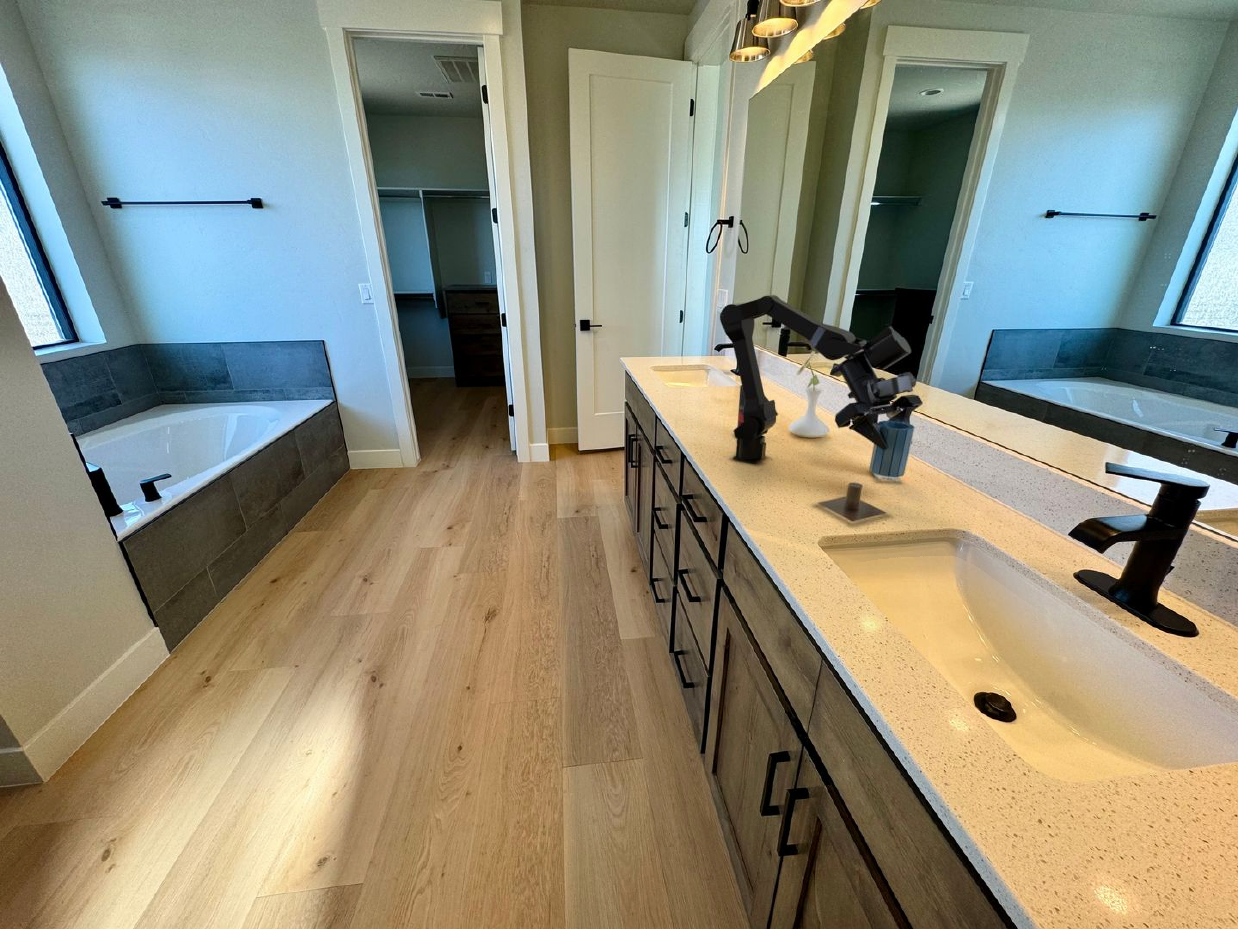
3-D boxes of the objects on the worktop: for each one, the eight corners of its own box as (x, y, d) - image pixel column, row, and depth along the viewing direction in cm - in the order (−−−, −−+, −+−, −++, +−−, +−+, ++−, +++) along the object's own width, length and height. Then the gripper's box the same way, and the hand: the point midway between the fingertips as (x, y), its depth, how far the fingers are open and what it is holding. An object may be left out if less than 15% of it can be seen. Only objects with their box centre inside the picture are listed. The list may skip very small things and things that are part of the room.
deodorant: (759, 439, 143) (764, 388, 137) (739, 439, 143) (742, 388, 137) (754, 433, 148) (758, 384, 143) (734, 433, 148) (738, 384, 143)
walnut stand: (817, 506, 102) (820, 480, 99) (849, 498, 105) (854, 473, 103) (851, 525, 94) (856, 497, 92) (886, 516, 97) (891, 489, 95)
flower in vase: (799, 427, 154) (809, 345, 145) (835, 434, 146) (848, 349, 137) (777, 436, 145) (786, 350, 136) (814, 444, 138) (826, 354, 129)
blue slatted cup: (866, 472, 101) (875, 426, 98) (873, 463, 106) (881, 418, 102) (901, 479, 98) (911, 431, 94) (906, 469, 102) (916, 423, 99)
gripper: (855, 362, 94) (894, 433, 88) (924, 355, 100) (964, 421, 95) (819, 394, 104) (852, 460, 98) (884, 386, 110) (918, 447, 105)
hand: (897, 446), depth 99 cm, fingers closed on blue slatted cup, 6 cm apart
